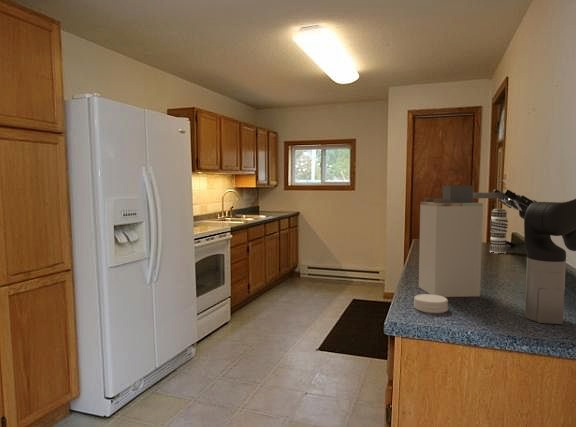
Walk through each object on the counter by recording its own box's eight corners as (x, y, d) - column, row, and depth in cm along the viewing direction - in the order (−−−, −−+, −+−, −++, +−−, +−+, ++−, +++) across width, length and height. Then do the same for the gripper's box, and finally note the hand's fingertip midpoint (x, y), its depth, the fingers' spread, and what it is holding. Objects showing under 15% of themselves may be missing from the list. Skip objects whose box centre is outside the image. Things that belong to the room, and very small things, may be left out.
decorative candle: (510, 252, 224) (512, 208, 222) (500, 254, 219) (502, 209, 218) (495, 250, 232) (496, 208, 230) (485, 251, 227) (486, 208, 226)
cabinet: (460, 286, 149) (462, 198, 147) (480, 296, 135) (482, 199, 133) (418, 286, 149) (420, 198, 146) (434, 297, 135) (436, 199, 132)
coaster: (444, 316, 116) (444, 304, 115) (410, 310, 121) (410, 299, 121) (450, 307, 124) (450, 296, 124) (418, 302, 129) (418, 291, 129)
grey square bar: (507, 201, 144) (508, 185, 144) (518, 202, 138) (518, 185, 138) (442, 202, 143) (442, 185, 142) (450, 202, 137) (450, 185, 136)
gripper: (529, 204, 149) (493, 182, 148) (557, 206, 135) (517, 182, 133) (519, 222, 149) (482, 200, 148) (546, 225, 135) (506, 201, 134)
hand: (499, 191), depth 141 cm, fingers open, 6 cm apart
